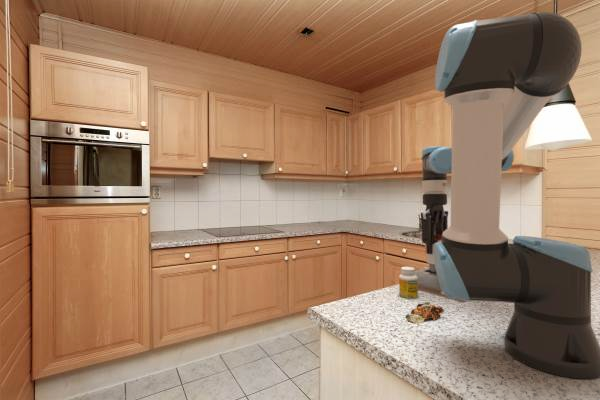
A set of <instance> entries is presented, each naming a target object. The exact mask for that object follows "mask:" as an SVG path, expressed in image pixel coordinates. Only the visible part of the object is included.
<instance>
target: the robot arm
mask: <svg viewBox="0 0 600 400" xmlns="http://www.w3.org/2000/svg"><path fill="white" fill-rule="evenodd" d="M581 56H582V39H581V37H580V33H579V32H578V29H577V28H576V27H575V25H574V24H573V23H572V22H571V21H570V20H569V19H568V18H566V17H564V16H563V15H561V14H558V13H555V12H549V11H537V12H532V13H529V14H518V15H512V16H511V15H510V16H504V17H496V18H488V19H487V18H486V19H482V20H481V19H480V20H478V19H474V20H472V21H469V22H464V23H463V22H462V23H458V24H457V23H456V24H455V25H453V26H452V27H450V28H449V29H448V30H447V31H446V33H445V35H444V37H443V40H442V42H441V46H440V50H439V52H438V58H437V62H436V63H437V64H436V69H435V76H434V78H435V79H434V84H435V85H434V86H435V90H436V91H438V92H440V93H442V92H444V96H443V97H444V99H443V101H444V102H445V103H446V104H447V105H448V106H449V107H451V109H452V113H451V115H452V117H451V119H452V120H451V121H452V123H451V127H452V128H451V131H452V132H451V147H447V146H443V145H434V146H427V147H424V148H423V149H422V153H421V154H422V155H421V162H422V163H421V164H422V165H421V168H422V183H421V185H422V193H424V194H423V195H422V205H425V206H426V208H425V211H424V212H421V213H420V219H421V233H422V238H421V242H422V243H423V244H424V245H425V244H426V245H427V254H426V264H429V263H430V264H435V268H436V273H437V277H438V281H439V284H440V287H441V289H442V291H443V293H444V294H445V295H446V296H447V297H449V298H452V299H461V300H466V302H472V301H473V302H480V301H481V302H491V303H492V302H493V303H494V302H495V303H496V302H497V303H513V304H514V307H513V309H514V310H513V312H512V316H511V319H510V321H509V324H508V326H507V327H506V331H505V333H504V339H503V340H504V341H503V342H504V346H503V347H504V349H505V351H506V352H507V353H508V354H509V355H511V357H513V358H514V359H516V360H518V361H519V362H520V363H523V364H524V365H527V366H529V367H532V368H533V369H536V370H539V371H541V372H544V373H548V374H552V375H555V376H560V377H566V378H573V379H584V380H585V379H596V378H599V377H600V344H599V342H598V339H597V337H596V335H595V332H594V329H593V328H592V273H593V269H592V261H591V254H590V251H589V250H588V249H587V248H586V247H584V246H582V245H580V244H577V243H571V242H568V241H563V240H557V239H550V238H545V237H537V236H528V235H516V236H514V237H513V240H512V243H509V236H507V234H505V233H504V232H503V231H502V230H501V229H500V214H501V192H502V191H501V188H502V187H501V185H502V172H507V171H509V170H510V169H511V167H513V163H514V158H515V156H514V155H515V154H514V150H513V149H514V148H515V146H516V145H517V143H518V142H519V141H520V139H521V138H522V137H523V135H524V134H525V132H526V131H527V130H528V129H529V128H530V126H531V125H532V123H534V122H533V121H534V120H535V119H536V118H537V116H539V113H540V112H541V111H542V110H543V108H544V107H545V105H546V104H547V103H548V102H549V100H551V98H552V97H554V96H556V95H559V94H560V93H561V92H563V91H564V89H565V88H566V87H567V85H568V84H569V83H570V82H571V81H572V79H573V78H574V76H575V74H576V72H577V70H578V67H579V64H580V62H581V58H582V57H581ZM448 174H450V176H451V177H450V181H451V184H450V187H451V188H450V225H449V224H448V223H449V222H448V217H449V211H448V210H445V209H444V206H447V205H448V195H447V193H446V192H447V190H448V187H447V186H448V185H449V184H448V181H447V180H448V178H447V175H448ZM448 225H449V227H448ZM435 234H442V242H437V243H435V244H434V237H435ZM452 299H451V300H452Z"/></svg>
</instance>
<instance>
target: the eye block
mask: <svg viewBox="0 0 600 400" xmlns="http://www.w3.org/2000/svg"><path fill="white" fill-rule="evenodd" d="M414 274H415V275H416V276H417V280H418V287H421V288H425V289H429V290H432V291H436V292H440V293H441V292H442V289H441V287H440V284H439V281H438V277H437V274H434V273H429V266H427V267H423V268H420V269H415V273H414Z"/></svg>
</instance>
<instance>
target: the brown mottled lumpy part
mask: <svg viewBox="0 0 600 400" xmlns="http://www.w3.org/2000/svg"><path fill="white" fill-rule="evenodd" d="M444 312H445V310H444V308H443V307H442V306H440V305H435V304H434V302H430V301H429V300H428V301H425V302H424V301H423V302H419V303H417V305H416V307H415V308H412V309H411V311H410V313H407V314H405V318H406V320H407V321H406V322H411V323H413V324H414V325H415V324H419V323H420V324H423V323H424V322H425V320H429V319H432V320H433V321H434V322H436V321H438V320H440V319H441V314H443V313H444Z"/></svg>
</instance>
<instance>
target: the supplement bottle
mask: <svg viewBox="0 0 600 400" xmlns="http://www.w3.org/2000/svg"><path fill="white" fill-rule="evenodd" d="M415 270H416V269H415V267H413V266H402V267H400V272H401V274H399V276H398V282H399V283H398V286H399V287H398V289H399V296H400V297H401V298H402V299H403V298H404V299H410V300H411V299H412V300H414V299H417V298H419V297H418V296H419V295H418V294H419V293H418V291H419V290H418V280H417V276H416V275H415V274H414V273H415Z"/></svg>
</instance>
